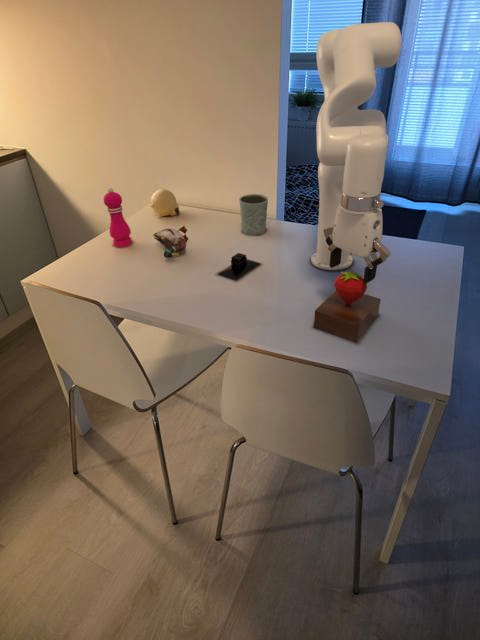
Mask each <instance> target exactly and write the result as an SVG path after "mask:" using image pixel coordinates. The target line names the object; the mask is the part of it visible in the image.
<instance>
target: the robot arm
mask: <svg viewBox="0 0 480 640" xmlns="http://www.w3.org/2000/svg"><path fill="white" fill-rule="evenodd" d="M402 39H403V38H402V33H401V30H400V27H399V26H398V24H396V23H395V22H392V21H382V22H381V21H380V22H367V23H354V24H350V25H347V26H345V27H343V28H337V29H332V30H331V29H330V30H328V31H326V32H324V33H322V34H321V35H320V37H319V38H318V40H317V43H316V53H315V54H316V55H315V56H316V67H317V72H318V76H319V80H320V82H321V86H322V90H323V95H324V96H323V97H324V101H323V103H322V104H321V106H320V108H319V111H318V113H317V118H316V124H315V125H316V126H315V127H316V128H315V130H316V131H315V132H316V154H317V158H318V161H319V164H318V167H317V179H318V189H319V190H318V191H319V197H318V198H319V201H318V203H319V204H318V221H317V238H316V252H314V253H313V254H312V255H311V257H310V262H311V264H312V265H313V266H314V267H316V268H318V269H321V270H325V271H341V270H345V269H348V268H350V267H351V266H352V264H353V255H355V256H357V257H360V258H362V259H363V260H364V262H365V264H366V266H365V268H364V273H363V277H362V278H363V283H365V284H367V285H368V283H370V282H372V281H374V280H375V278H376V277H377V276H376V275H377V268H378V266H379V265H381V264H383V263H384V262H386V260H387V259H388V258H389V257H390V256H391V255H392V253H391V250H390V249H389V248H388V247H387V246H385V244H384V243H383V242H382V239H383V224H384V223H383V221H384V220H383V211H382V208H383V207H384V206H385V205H384V204H385V202H384V201H382V200H381V191H382V186H383V181H384V178H385V165H386V159H387V153H388V147H389V135H388V134H387V121H386V117H385V114H384V113H383V112H382V111H381V110H378V109H359V108H358V107H359V106H361V105H363V104H364V103H366V102H367V101H369V100H370V98H372V96H373V95H374V93H375V91H376V87H377V79H376V69H377V68H378V69H379V68H391V67H393V66H395V64H396V63H397V62H398V60H399V58H400V55H401V53H402V45H403V44H402V42H403V41H402ZM377 253H379V256H378V254H377ZM351 254H353V255H351Z"/></svg>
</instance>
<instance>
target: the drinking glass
mask: <svg viewBox="0 0 480 640" xmlns="http://www.w3.org/2000/svg"><path fill="white" fill-rule="evenodd" d="M238 200H239V208H240V209H239V210H240V220H241V231H242V233H243V234H245V235H248V236H259V235H262V234H265V232H266V229H267V215H268V213H267V212H268V203H269V198H268V197H267V196H266V195H263V194H258V193H253V194H252V193H251V194H245V195H242V196H240V197H239V199H238Z"/></svg>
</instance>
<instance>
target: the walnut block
mask: <svg viewBox="0 0 480 640" xmlns="http://www.w3.org/2000/svg"><path fill="white" fill-rule="evenodd" d="M381 301H382V300H381V298H379V297H377V296H372V295H370V294H365V293H364V295H363V296H362V297H360V298H359V299H358V300H356V301H355V302H353V303H352V304H350V305H347V304H346V303H345V302H344V301H343V300H342V299H341V298H340V296H339V295H338V293H337V292H336V290H334V291H333V292H332V293H331V294H330V295H328V297H327V298H326V299H325V300H324V301H323V302H322V303H321V304H319V306H318V307H317V308H316V309H315V310H314V317H313V318H314V319H313V328H314V329H317V330H320V331H322V332H325V333H328V334H331V335H334V336H337V337H340V338H342V339H345V340H349V341H351V342H354V343H358V341H359V340H360V339H361V338H362V337H363V335H365V333H366V331H367V330H369V327H370V326H371V325H372V324H373V323H374V321H375V320H376V319H377V317H378V316H379V311H380V306H381Z"/></svg>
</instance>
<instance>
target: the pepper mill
mask: <svg viewBox="0 0 480 640" xmlns="http://www.w3.org/2000/svg"><path fill="white" fill-rule="evenodd" d="M122 203H123V198H122V196H121V194H120V193H118V192H116V191H114V189H113V188H112V187H109V188H108V189H107V192H106V194H104V196H103V204H104V206H106V207H107V208H106V210H107V213H109V217H110V225H109V236H110V237H111V238H112V239H113V240H112V242H113V245H114V247H116V248H125V247H128V246H130V245H131V244H132V237H131V234H132V232H131V228H130V226H129V224H128V223H127V221H126V219H125V217H124V215H123V210H124V208H123V206H122Z"/></svg>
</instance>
